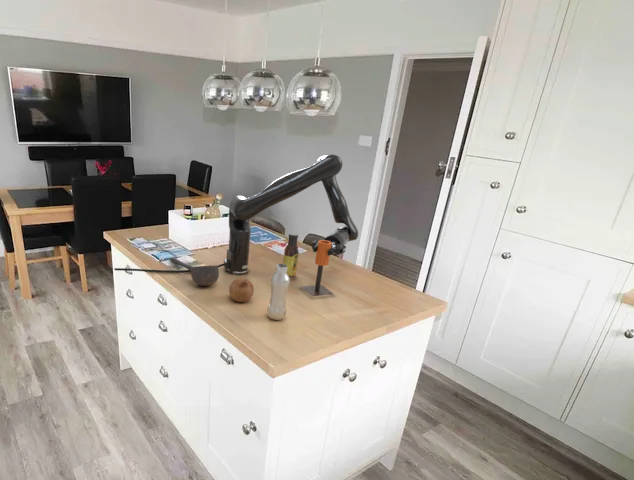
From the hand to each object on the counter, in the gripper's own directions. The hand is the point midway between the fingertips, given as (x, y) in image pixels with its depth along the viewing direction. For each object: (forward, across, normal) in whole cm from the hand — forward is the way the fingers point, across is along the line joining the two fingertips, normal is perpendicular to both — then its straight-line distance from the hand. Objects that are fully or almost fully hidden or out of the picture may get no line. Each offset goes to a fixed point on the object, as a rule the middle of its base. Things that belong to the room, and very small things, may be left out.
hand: (321, 251), depth 164 cm
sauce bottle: (-11, -17, +19) cm, 27 cm away
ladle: (+14, -53, +19) cm, 58 cm away
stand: (-3, 0, +19) cm, 19 cm away
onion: (+24, -22, +19) cm, 37 cm away
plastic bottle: (+29, -4, +19) cm, 35 cm away
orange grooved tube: (-3, 0, +6) cm, 6 cm away
